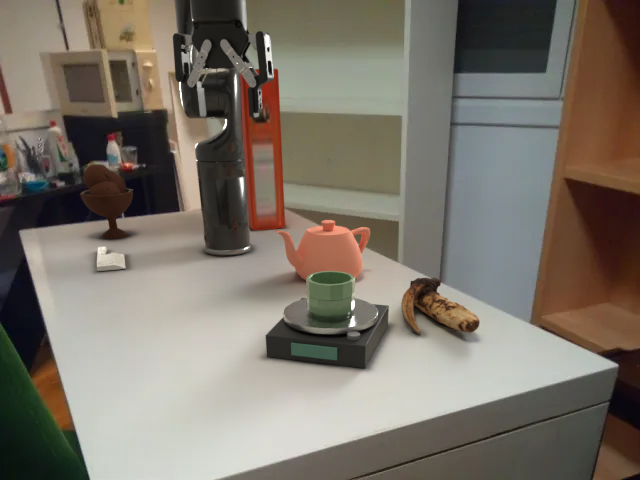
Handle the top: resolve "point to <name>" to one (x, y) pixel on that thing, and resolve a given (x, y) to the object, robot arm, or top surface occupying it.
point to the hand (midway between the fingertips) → (227, 116)
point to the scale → (327, 343)
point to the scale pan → (308, 322)
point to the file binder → (264, 158)
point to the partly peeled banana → (436, 307)
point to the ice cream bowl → (106, 197)
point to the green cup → (330, 293)
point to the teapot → (327, 249)
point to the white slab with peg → (109, 260)
